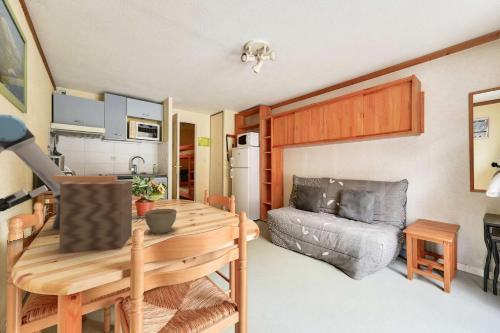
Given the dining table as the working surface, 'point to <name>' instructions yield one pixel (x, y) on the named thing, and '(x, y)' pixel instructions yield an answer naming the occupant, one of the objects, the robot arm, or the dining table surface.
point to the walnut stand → (95, 215)
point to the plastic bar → (83, 178)
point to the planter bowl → (160, 220)
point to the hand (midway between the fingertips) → (36, 189)
